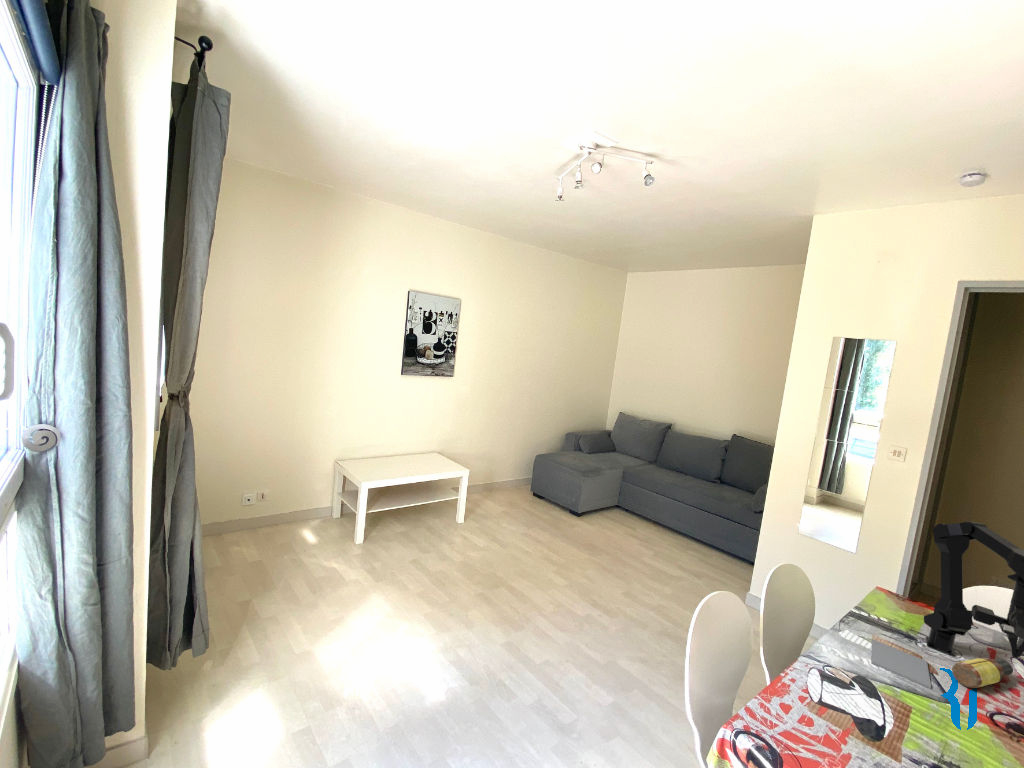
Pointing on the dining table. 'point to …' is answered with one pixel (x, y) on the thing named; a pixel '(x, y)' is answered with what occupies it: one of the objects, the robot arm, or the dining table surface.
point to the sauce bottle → (981, 671)
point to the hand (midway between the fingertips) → (1014, 657)
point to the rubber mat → (900, 663)
